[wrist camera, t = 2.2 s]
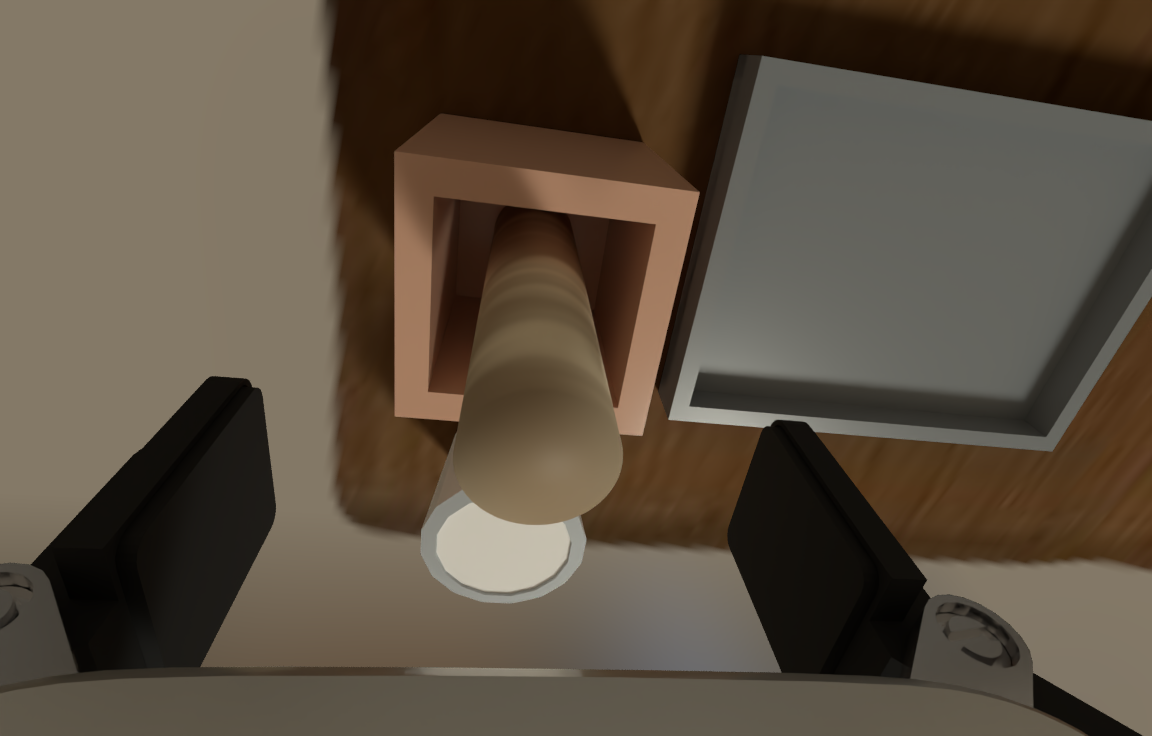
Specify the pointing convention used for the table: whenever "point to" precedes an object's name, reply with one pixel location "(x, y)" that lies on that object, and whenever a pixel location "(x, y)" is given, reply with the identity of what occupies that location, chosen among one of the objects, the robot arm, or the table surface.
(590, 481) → the dowel
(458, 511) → the cream short cylinder
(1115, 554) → the table surface
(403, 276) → the holder
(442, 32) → the table surface
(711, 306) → the tray
